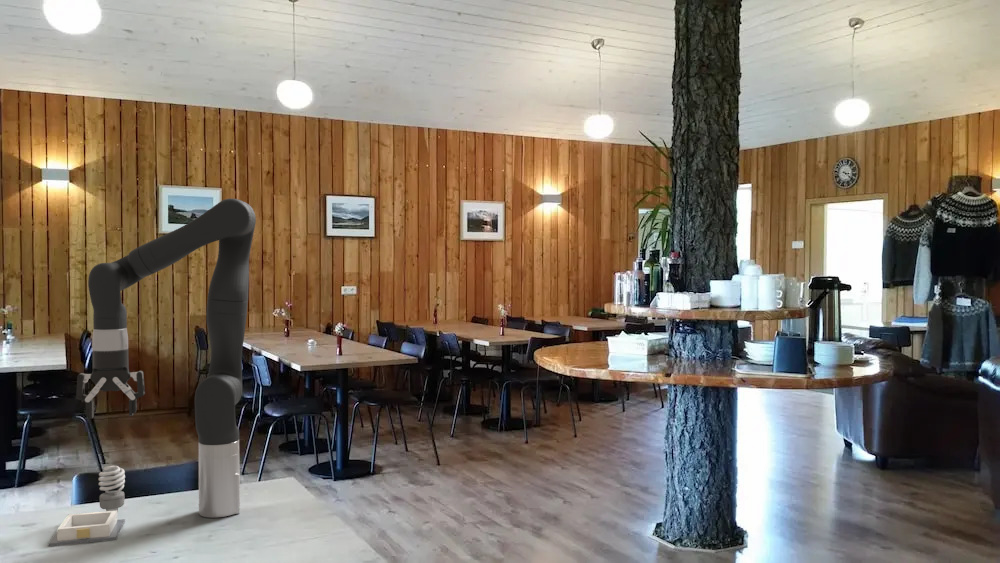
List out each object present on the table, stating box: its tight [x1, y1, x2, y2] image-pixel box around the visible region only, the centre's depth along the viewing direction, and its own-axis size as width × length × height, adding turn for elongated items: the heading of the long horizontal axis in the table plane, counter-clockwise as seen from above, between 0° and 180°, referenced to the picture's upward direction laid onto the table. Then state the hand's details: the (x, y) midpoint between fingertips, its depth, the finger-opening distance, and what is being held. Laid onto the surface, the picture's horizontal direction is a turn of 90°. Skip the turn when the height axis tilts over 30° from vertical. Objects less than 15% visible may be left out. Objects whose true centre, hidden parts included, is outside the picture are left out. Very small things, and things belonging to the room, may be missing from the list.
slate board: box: [47, 518, 126, 547], centre depth 170 cm, size 13×12×1 cm
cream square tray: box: [56, 510, 118, 541], centre depth 170 cm, size 10×10×2 cm
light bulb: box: [98, 465, 126, 514], centre depth 181 cm, size 6×6×12 cm
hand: (111, 416), depth 181 cm, fingers open, 8 cm apart
